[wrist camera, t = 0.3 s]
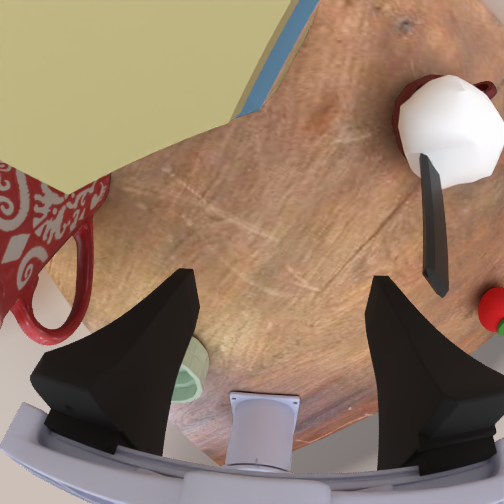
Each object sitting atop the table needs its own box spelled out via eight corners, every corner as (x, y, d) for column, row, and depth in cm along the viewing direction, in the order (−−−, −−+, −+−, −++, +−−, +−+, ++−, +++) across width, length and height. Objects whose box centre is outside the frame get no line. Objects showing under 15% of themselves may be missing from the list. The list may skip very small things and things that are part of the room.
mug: (19, 157, 21) (-97, 236, 10) (79, 91, 18) (-80, 153, 7) (96, 268, 27) (16, 383, 15) (169, 229, 23) (80, 375, 12)
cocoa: (464, 61, 14) (602, 87, 4) (485, 148, 17) (600, 235, 7) (334, 95, 17) (394, 136, 7) (367, 185, 20) (428, 313, 10)
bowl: (215, 378, 33) (207, 408, 30) (141, 367, 34) (129, 394, 31) (204, 322, 28) (193, 355, 25) (117, 312, 29) (101, 341, 26)
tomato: (495, 310, 24) (512, 341, 20) (466, 312, 24) (481, 345, 21) (511, 278, 22) (531, 308, 18) (481, 277, 22) (501, 310, 19)
